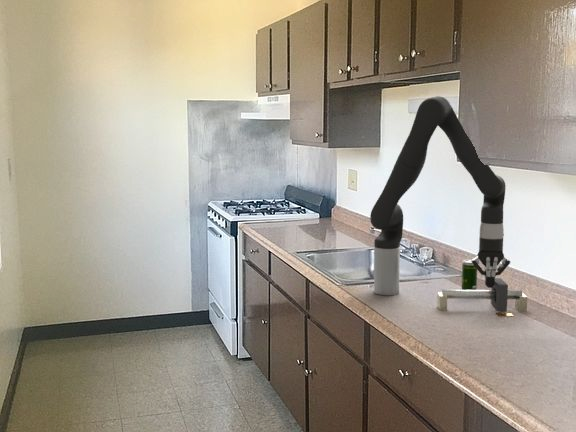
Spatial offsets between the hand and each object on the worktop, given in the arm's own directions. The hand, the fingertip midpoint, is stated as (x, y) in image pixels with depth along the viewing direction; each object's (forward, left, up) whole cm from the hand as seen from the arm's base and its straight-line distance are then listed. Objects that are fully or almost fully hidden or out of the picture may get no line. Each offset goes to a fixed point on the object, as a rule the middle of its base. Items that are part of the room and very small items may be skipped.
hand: (489, 287), depth 216 cm
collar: (0, +3, -8) cm, 8 cm away
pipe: (+3, -2, -8) cm, 8 cm away
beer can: (-20, -2, -8) cm, 22 cm away
